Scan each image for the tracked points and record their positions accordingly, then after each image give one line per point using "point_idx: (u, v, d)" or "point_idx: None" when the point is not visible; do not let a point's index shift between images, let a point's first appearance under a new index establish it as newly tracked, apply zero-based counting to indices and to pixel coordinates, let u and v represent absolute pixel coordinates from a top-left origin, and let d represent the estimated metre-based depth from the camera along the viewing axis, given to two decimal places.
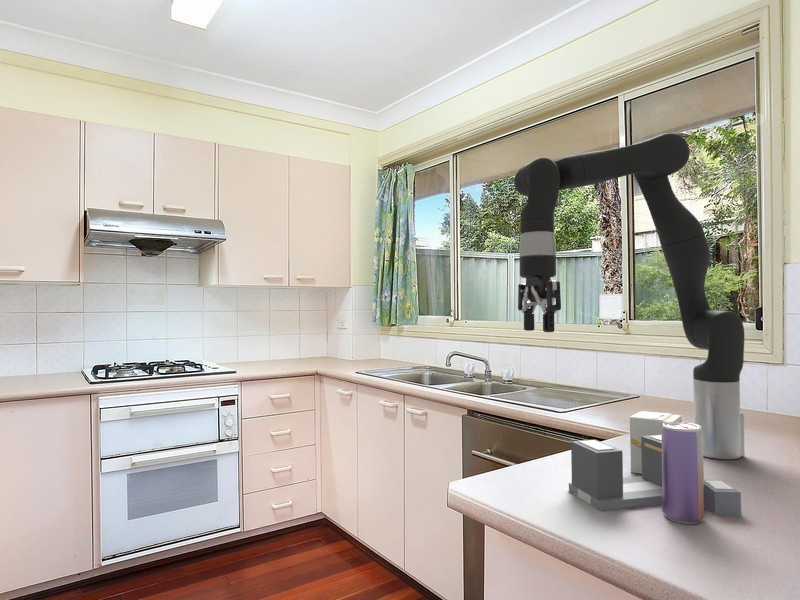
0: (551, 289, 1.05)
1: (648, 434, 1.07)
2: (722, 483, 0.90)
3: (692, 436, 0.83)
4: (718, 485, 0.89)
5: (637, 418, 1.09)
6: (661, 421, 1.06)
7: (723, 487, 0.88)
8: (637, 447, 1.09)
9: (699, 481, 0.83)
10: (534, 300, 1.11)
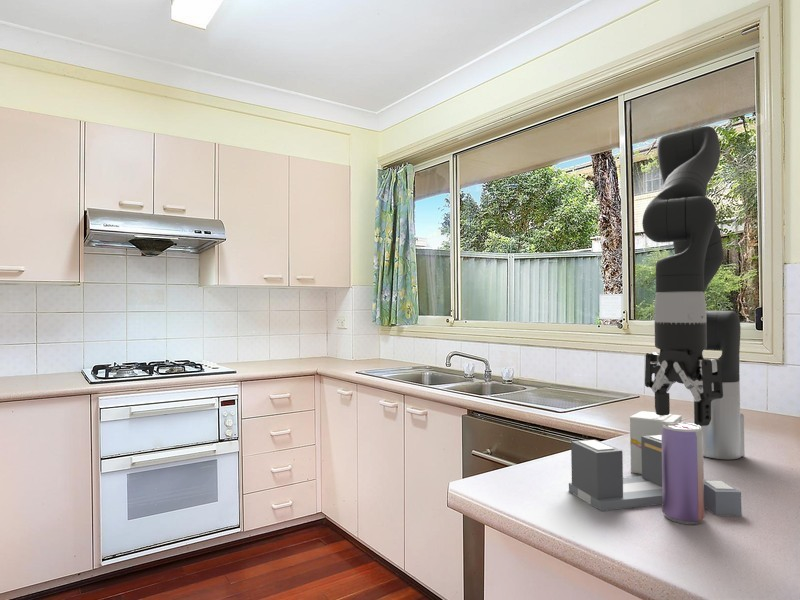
0: (710, 371, 0.79)
1: (648, 434, 1.07)
2: (722, 483, 0.90)
3: (692, 436, 0.83)
4: (718, 485, 0.89)
5: (637, 418, 1.09)
6: (661, 421, 1.06)
7: (724, 487, 0.88)
8: (637, 447, 1.09)
9: (699, 481, 0.83)
10: (677, 380, 0.85)
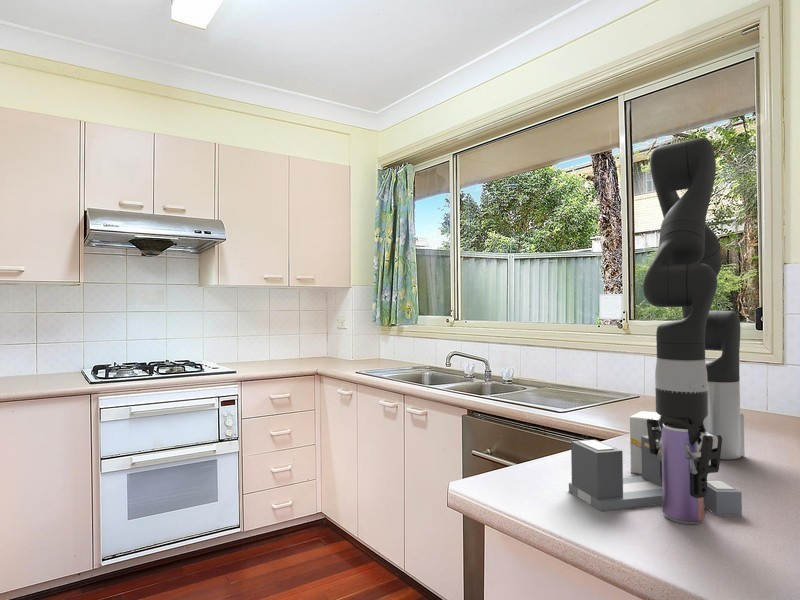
0: (710, 448, 0.79)
1: None
2: (722, 483, 0.90)
3: None
4: (719, 485, 0.89)
5: (637, 418, 1.09)
6: None
7: (724, 487, 0.88)
8: (637, 447, 1.09)
9: None
10: None
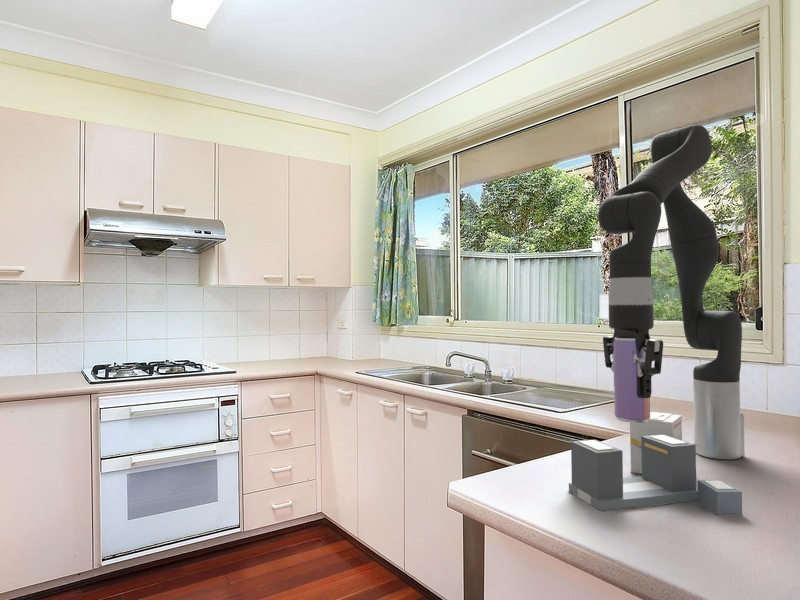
0: (653, 351, 0.90)
1: (648, 434, 1.07)
2: (722, 483, 0.90)
3: None
4: (719, 485, 0.89)
5: None
6: (661, 421, 1.06)
7: (724, 487, 0.88)
8: (637, 447, 1.09)
9: None
10: None
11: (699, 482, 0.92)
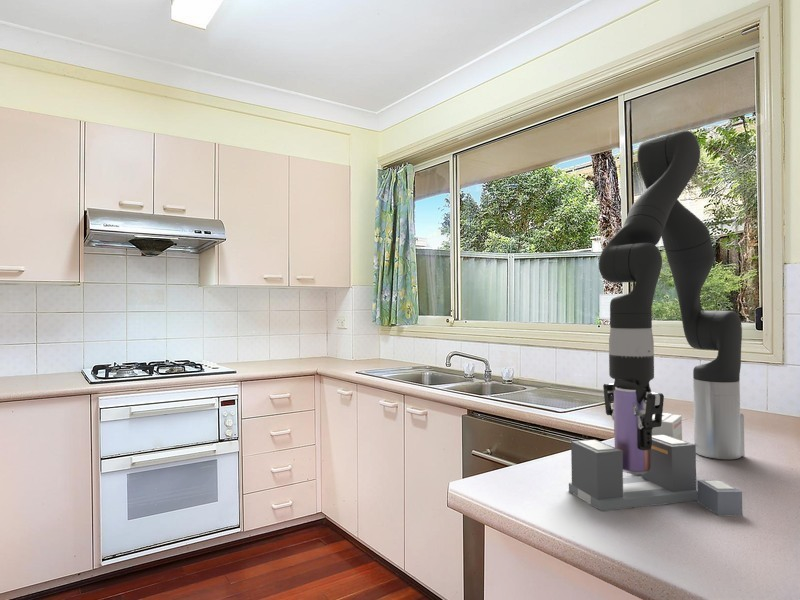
0: (653, 405, 0.90)
1: None
2: (721, 483, 0.90)
3: None
4: (719, 485, 0.89)
5: None
6: None
7: (724, 487, 0.88)
8: None
9: None
10: None
11: (699, 482, 0.92)
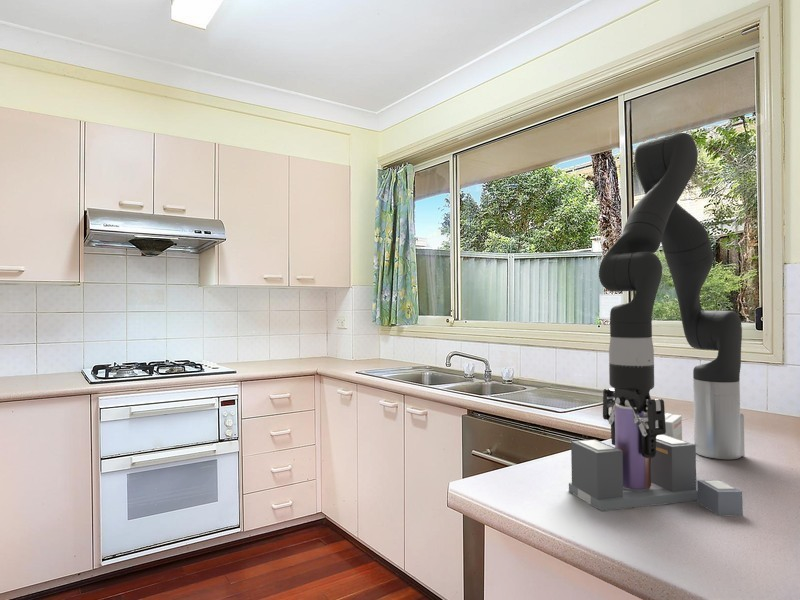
0: (654, 410, 0.90)
1: None
2: (721, 483, 0.90)
3: (640, 413, 0.93)
4: (719, 485, 0.89)
5: None
6: None
7: (725, 487, 0.88)
8: None
9: None
10: None
11: (699, 482, 0.92)
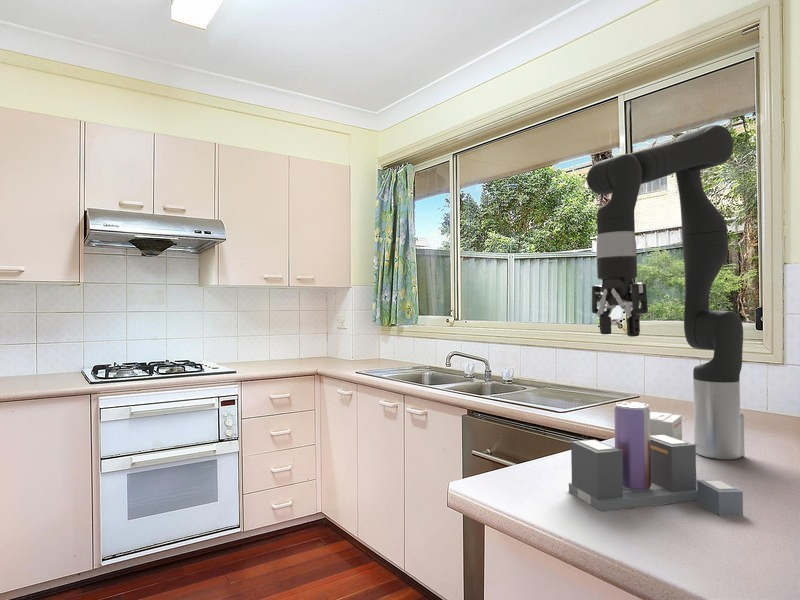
0: (637, 292, 1.01)
1: None
2: (721, 483, 0.90)
3: (639, 413, 0.93)
4: (719, 485, 0.89)
5: None
6: (661, 421, 1.06)
7: (725, 487, 0.88)
8: None
9: (645, 453, 0.94)
10: (614, 303, 1.07)
11: (699, 482, 0.92)
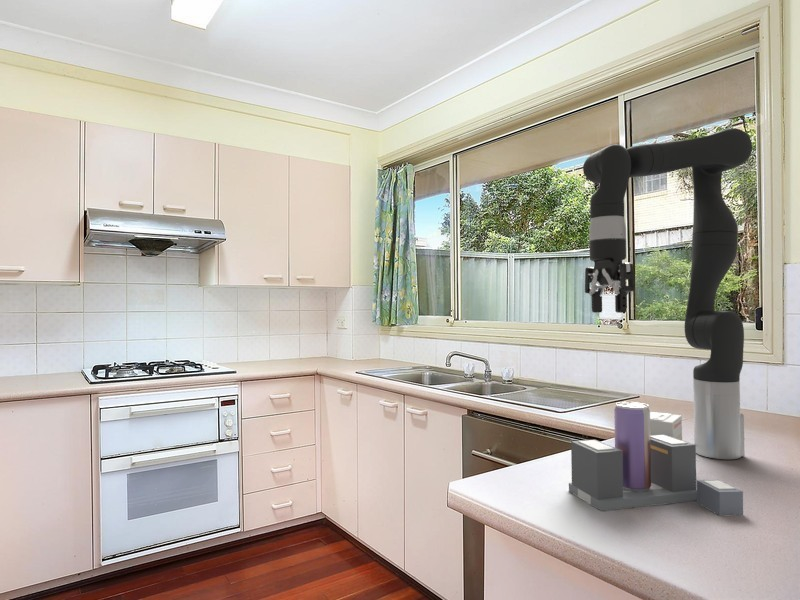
0: (625, 271, 1.09)
1: None
2: (721, 483, 0.90)
3: (639, 413, 0.93)
4: (719, 485, 0.89)
5: None
6: (661, 421, 1.06)
7: (725, 487, 0.88)
8: None
9: (645, 453, 0.94)
10: (604, 282, 1.15)
11: (699, 482, 0.92)
